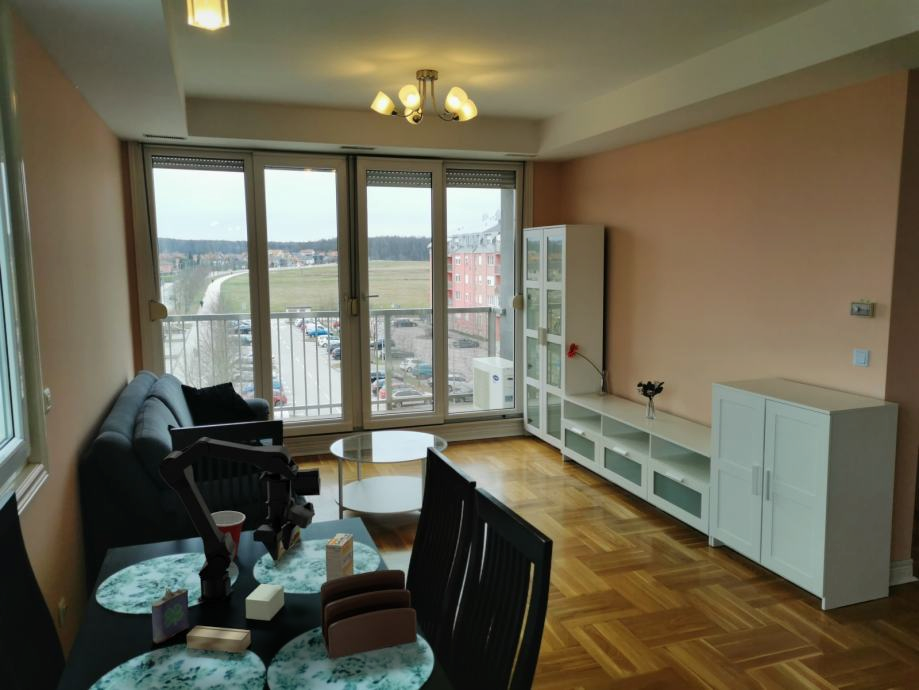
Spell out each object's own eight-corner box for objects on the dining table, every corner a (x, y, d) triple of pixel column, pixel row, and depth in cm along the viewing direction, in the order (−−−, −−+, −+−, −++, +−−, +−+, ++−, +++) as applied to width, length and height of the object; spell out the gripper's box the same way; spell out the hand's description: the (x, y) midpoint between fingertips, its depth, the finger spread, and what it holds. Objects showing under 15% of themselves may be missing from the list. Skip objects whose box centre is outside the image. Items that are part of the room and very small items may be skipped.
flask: (157, 644, 151) (155, 599, 150) (149, 641, 153) (146, 596, 152) (192, 625, 159) (189, 582, 158) (183, 622, 161) (181, 579, 160)
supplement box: (343, 595, 174) (342, 546, 172) (326, 593, 175) (324, 544, 173) (354, 580, 182) (353, 533, 181) (338, 578, 183) (336, 532, 181)
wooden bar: (187, 647, 150) (186, 634, 150) (197, 638, 154) (196, 625, 154) (242, 653, 148) (241, 639, 148) (250, 643, 152) (250, 629, 151)
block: (246, 618, 163) (245, 599, 162) (262, 602, 171) (261, 583, 170) (269, 621, 162) (268, 601, 161) (284, 604, 169) (283, 585, 169)
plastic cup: (237, 565, 192) (235, 524, 190) (200, 563, 193) (198, 522, 191) (253, 549, 202) (251, 510, 201) (218, 547, 204) (216, 509, 202)
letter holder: (321, 637, 155) (319, 578, 153) (404, 620, 162) (404, 564, 160) (328, 660, 145) (327, 598, 144) (417, 642, 152) (416, 582, 151)
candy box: (279, 560, 195) (278, 532, 194) (272, 559, 195) (271, 532, 194) (301, 538, 211) (300, 512, 210) (294, 537, 211) (293, 512, 210)
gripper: (294, 511, 162) (296, 573, 164) (322, 486, 181) (324, 542, 182) (251, 508, 164) (253, 570, 166) (283, 484, 182) (285, 539, 184)
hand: (281, 555), depth 175 cm, fingers open, 6 cm apart
